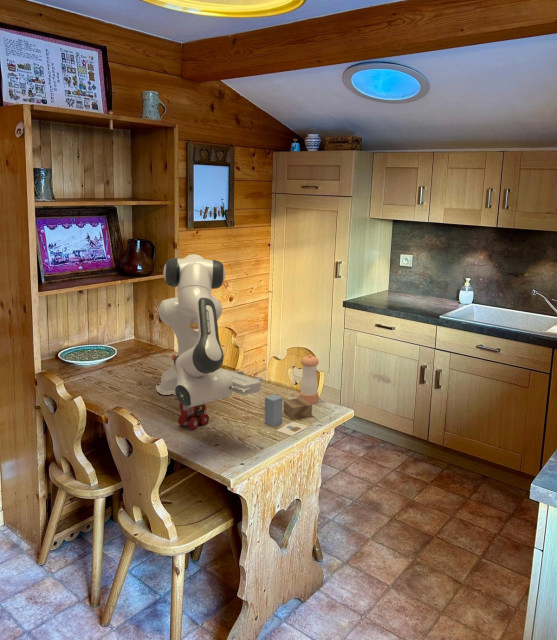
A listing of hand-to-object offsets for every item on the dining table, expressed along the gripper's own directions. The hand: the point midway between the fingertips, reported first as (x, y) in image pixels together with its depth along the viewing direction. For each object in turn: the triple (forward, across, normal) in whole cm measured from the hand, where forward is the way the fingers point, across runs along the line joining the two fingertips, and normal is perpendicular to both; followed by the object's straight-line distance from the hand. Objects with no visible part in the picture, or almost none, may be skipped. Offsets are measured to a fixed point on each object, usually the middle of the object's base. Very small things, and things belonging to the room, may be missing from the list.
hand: (251, 376), depth 210 cm
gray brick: (+12, 0, +20) cm, 23 cm away
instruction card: (+13, -8, +20) cm, 25 cm away
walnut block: (+24, 0, +20) cm, 31 cm away
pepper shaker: (+37, +6, +19) cm, 42 cm away
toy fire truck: (-10, +20, +21) cm, 30 cm away
